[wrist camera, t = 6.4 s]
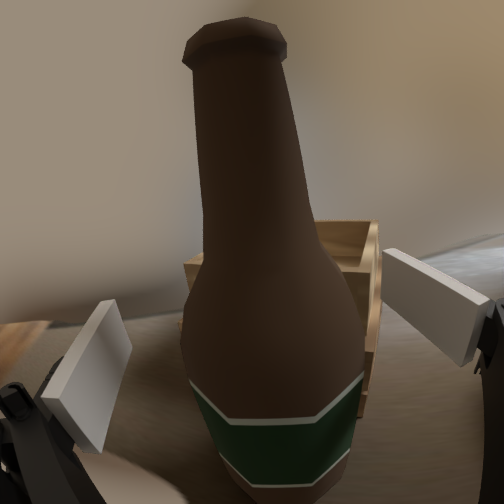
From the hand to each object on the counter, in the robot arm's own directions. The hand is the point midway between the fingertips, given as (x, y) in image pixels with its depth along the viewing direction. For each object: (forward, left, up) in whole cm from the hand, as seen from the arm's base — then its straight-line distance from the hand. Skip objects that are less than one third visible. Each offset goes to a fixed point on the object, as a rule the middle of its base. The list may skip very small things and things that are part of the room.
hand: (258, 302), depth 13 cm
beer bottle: (+1, +1, -13) cm, 13 cm away
